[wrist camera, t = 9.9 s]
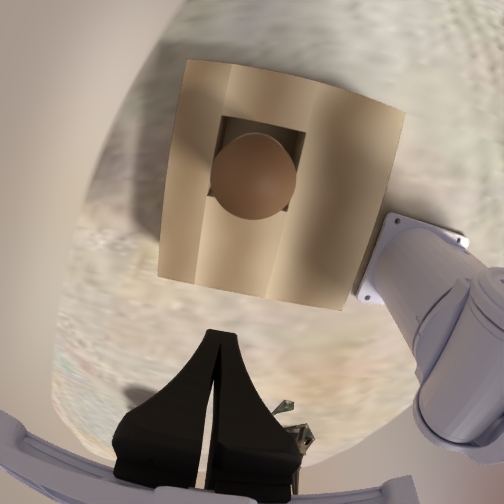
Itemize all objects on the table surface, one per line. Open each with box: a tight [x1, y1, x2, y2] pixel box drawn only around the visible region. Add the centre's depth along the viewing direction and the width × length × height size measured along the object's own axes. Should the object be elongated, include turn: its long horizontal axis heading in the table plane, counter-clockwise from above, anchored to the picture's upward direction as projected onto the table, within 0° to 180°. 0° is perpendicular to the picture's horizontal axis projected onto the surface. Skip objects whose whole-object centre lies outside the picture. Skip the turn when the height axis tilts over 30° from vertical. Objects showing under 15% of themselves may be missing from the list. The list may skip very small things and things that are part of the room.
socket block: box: [158, 59, 406, 311], centre depth 19 cm, size 13×14×4 cm
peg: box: [210, 132, 296, 220], centre depth 16 cm, size 4×4×8 cm
